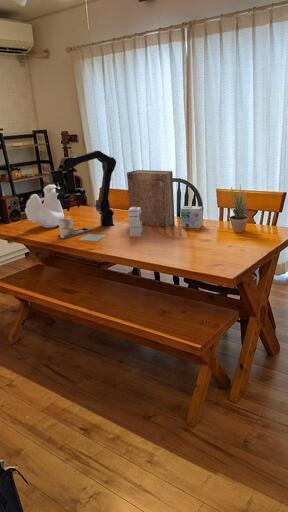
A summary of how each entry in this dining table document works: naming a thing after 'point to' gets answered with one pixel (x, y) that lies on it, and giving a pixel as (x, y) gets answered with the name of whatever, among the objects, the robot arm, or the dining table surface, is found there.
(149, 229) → the dining table surface
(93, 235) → the mat
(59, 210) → the decorative rooster
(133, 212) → the syrup box
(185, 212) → the light bulb box
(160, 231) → the dining table surface
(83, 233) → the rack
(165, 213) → the book
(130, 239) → the dining table surface
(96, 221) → the dining table surface
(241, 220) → the potted plant
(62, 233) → the beige rectangular block
